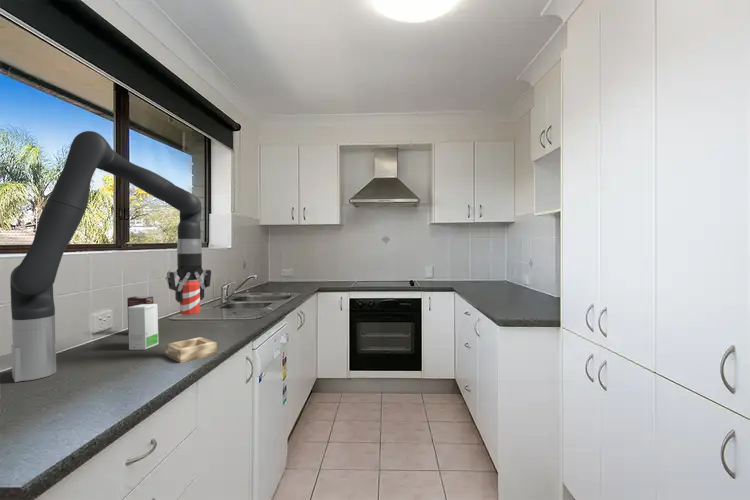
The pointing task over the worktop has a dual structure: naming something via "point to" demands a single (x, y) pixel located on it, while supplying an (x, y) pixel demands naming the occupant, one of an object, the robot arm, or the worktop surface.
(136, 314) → the skincare box
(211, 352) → the holder block
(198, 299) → the beverage can
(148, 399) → the worktop surface
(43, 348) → the robot arm
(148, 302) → the supplement box
